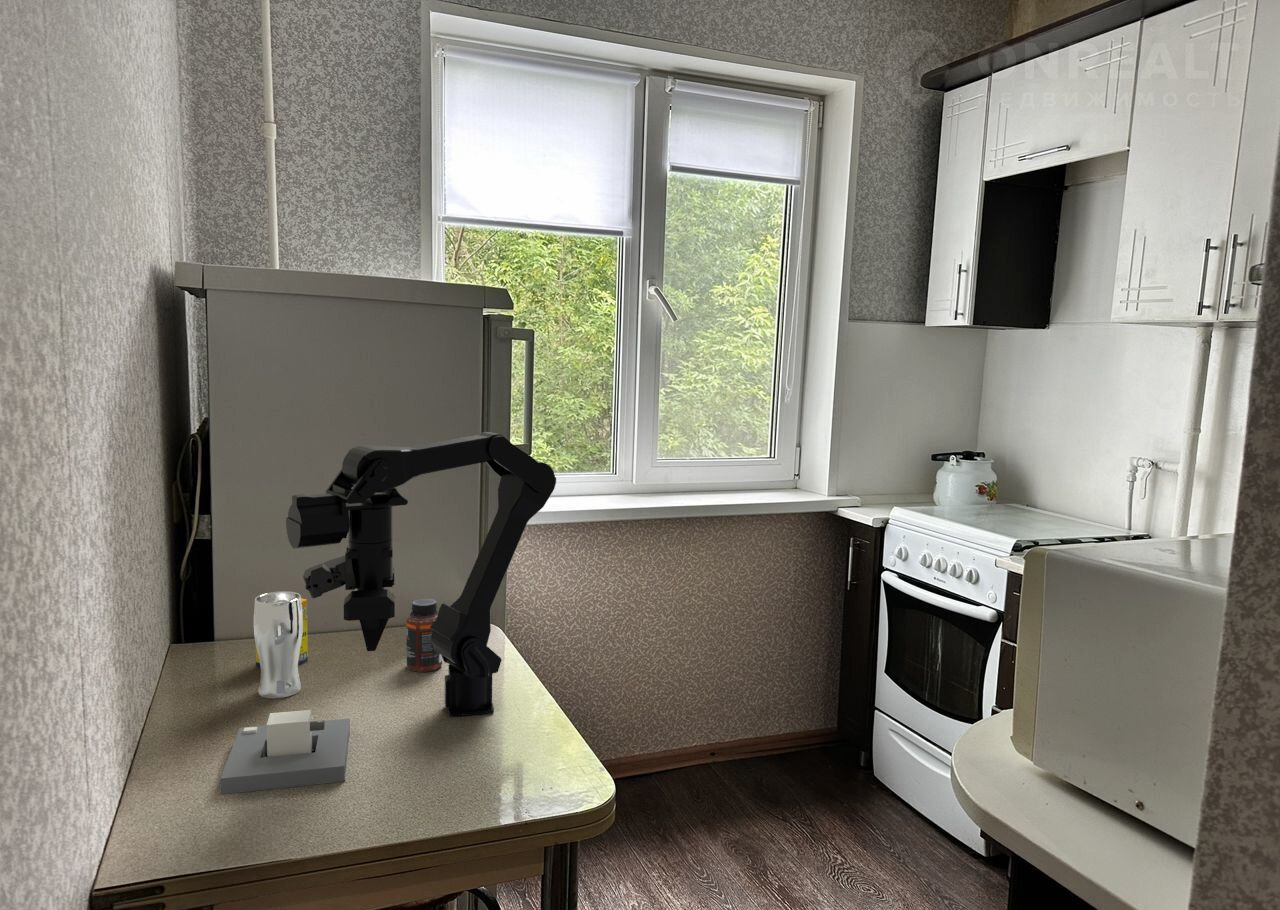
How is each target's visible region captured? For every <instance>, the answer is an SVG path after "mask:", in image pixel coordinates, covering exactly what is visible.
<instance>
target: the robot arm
mask: <svg viewBox="0 0 1280 910" xmlns="http://www.w3.org/2000/svg"><path fill="white" fill-rule="evenodd" d="M481 463H486V465H487V466H488V467H489V469H490V470H491V471H492V472H493V473H495V474H496V475H497V476H498V477H499V478H500V481H499V484H498V488H497V501H498V505H497V507H498V509H497V512H496V514H495V516H494V519H493V521H492V523H491V525H490V528H489V530H488V532H487V534H486V536H485V538H484V541H483V544H482V546H481V549H480V551H479V553H478V555H477V558H476V560H475V562H474V564H473V567H472V569H471V571H470V574H469V576H468V578H467V581H466V583H465V586H464V587H463V590H462V592H461V594H460V596H459V597H458V598H457V599H456V601H454V602H453V603H452V604H451V605H448V604H446V603H444V602H443V603H442V604H441V605H440V607H439V610H438V611H437V612H438V616H437V618H436V620H435V622H434V623H433V624H432V625H431V627H430V628H431V629H432V630H433V632H432V635H431V642H432V644H433V647H434V649H435V650H436V651H437V652H438V653H439V654H441V655H442V658H443V660H442V662H444V663H446V664H448V674H446V675H444V695H443V696H444V699H443V700H444V707H445V708H446V709H448V715H449V716H450V717H458V716H459V717H460V716H470V715H471V716H472V715H480V714H481V715H482V714H490V713H491V714H492V713H494V712H495V708H494V703H493V674H497V673H498V672H499V670H500V666H501V664H502V663H501V662H502V657H500V656H499V655H498V654H497V653H496V652H495V651H494V650H492V649H491V648H490V647H489V646H488V643H489V639H490V635H491V633H492V630H491V629H492V626H491V625H492V624H491V621H492V620H491V611H492V607H493V604H494V602H495V599H496V597H497V594H498V592H499V591H500V587H501V585H502V583H503V581H504V578H505V577H506V573H507V572H508V569H509V567H510V564H511V562H512V560H513V558H514V555H515V553H516V550H517V547H518V546H519V543H520V541H521V539H522V536H523V533H524V531H525V530H526V527H527V524H528V522H530V520H531V519H532V518H533V517H534V516H535V515H537V514H538V512H539V511H541V510H542V509H543V508H544V507H545V505H546V504H547V502H548V500H549V499H550V497H551V495H552V494H553V492H554V490H555V489H556V488H555V487H556V484H557V477H556V476H555V475H556V474H555V471H554V470H553V468H552V466H550V465H549V464H548V463H545V462H542V461H538V460H536V459H535V458H534V457H532V456H531V455H529V453H526V452H525V451H523V450H522V449H520V448H519V447H518V446H516V445H514V444H513V443H512V442H511V441H509V439H507V437H505V435H503V434H499V433H496V432H495V433H494V432H491V431H483V432H480V433H478V434H474V435H469V436H463V437H458V438H457V437H456V438H452V439H446V440H439V441H435V442H429V443H422V444H418V445H417V444H416V445H412V446H411V445H410V446H394V445H391V446H390V445H364V444H363V445H358V446H355V447H352V448H351V449H349V450H348V452H347V453H346V455H345V456H344V458H343V461H342V464H341V465H342V466H341V469H340V470H339V472H338V473H337V475H336V476H335V477H334V479H333V481H332V482H331V484H330V485H329V486H328V488H327V489H326V491H325V493H320V494H305V493H303V494H293V495H292V496H291V505H290V506H289V508H288V514H287V517H286V518H285V527H286V534H287V539H288V542H289V544H290V546H291V547H292V548H293V549H302V548H311V547H312V548H313V547H319V546H320V547H321V546H329V545H336V544H340V543H341V542H342V540H343V539H347V538H348V540H347V541H348V542H347V543H348V545H347V546H346V551H345V554H344V555H342V556H339V557H335V558H333V559H332V558H331V559H329V560H327V561H325V562H322V563H319V564H316V565H313V566H312V567H309V568H307V569H305V570H304V572H303V575H302V578H303V581H304V584H305V590H306V591H308V593H309V596H310V598H311V599H317V598H319V597H321V596H323V595H324V594H326V593H328V592H331V591H334V590H336V589H338V588H341V587H343V586H345V591H350V592H349V594H348V595H346V596H345V598H344V602H343V620H344V621H348V622H350V621H359V624H360V628H361V632H362V635H363V639H364V644H365V648H366V651H367V652H375V651H376V650H377V647H378V646H379V642H380V640H381V638H382V635H383V633H384V631H385V628H386V627H387V624H388V621H389V620H390V619H392V618H393V619H394V618H395V615H396V614H395V613H396V612H395V611H396V610H395V609H396V607H395V603H396V601H395V598H396V597H395V593H393V592H391V591H390V590H389V589H388V588H393V587H394V585H395V567H394V566H393V565H394V564H393V548H394V547H393V507H397V506H398V507H399V506H406V505H408V503H409V501H408V499H406V498H405V497H404V496H402V494H400V493H399V490H398V489H397V487H399V486H402V485H405V484H406V483H408V482H409V481H411V480H412V479H414V478H416V477H419V476H421V475H425V474H431V473H436V472H441V471H447V470H450V469H455V468H456V469H457V468H461V467H466V466H471V465H477V464H481ZM385 588H386V589H385Z"/></svg>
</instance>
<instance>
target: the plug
mask: <svg viewBox="0 0 1280 910" xmlns="http://www.w3.org/2000/svg"><path fill="white" fill-rule="evenodd" d="M266 726H267V754H266V757H273V756H283V755H293V754H304V753H313V750H312V731H318V730H324V729H325V720H324V719H323V720H312V709H306V710H293V711H281V712H270V713H269V717H268V719H267V722H266Z"/></svg>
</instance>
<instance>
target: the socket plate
mask: <svg viewBox="0 0 1280 910" xmlns="http://www.w3.org/2000/svg"><path fill="white" fill-rule="evenodd" d="M350 722H351V721H350V718H339V719H326V720H325V729H324V730H318V731H312V751H315V752H312V753H304V754H293V755H283V756H273V757H267V725H257V726H248V727H247V726H246V727H239V729H238V732H237V734H236V738H235V739H234V742H233V744H232V747H231V750H230V753H229V755H228V757H227V759H226V763H225V765H224V768H223V771H222V773H221V776H220V780H219V781H220V782H219V783H220V785H219V786H220V787H219V788H220V795H228V794H230V795H231V794H237V793H238V794H239V793H248V792H256V791H257V792H258V791H265V790H273V789H275V790H276V789H283V788H293V787H303V786H312V785H313V786H314V785H321V784H331V783H339V782H340V783H342V782H345V781H346V771H347V764H348V763H347V762H348V753H349V743H350V734H351V733H350V732H351V730H350V729H351V724H350Z"/></svg>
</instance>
